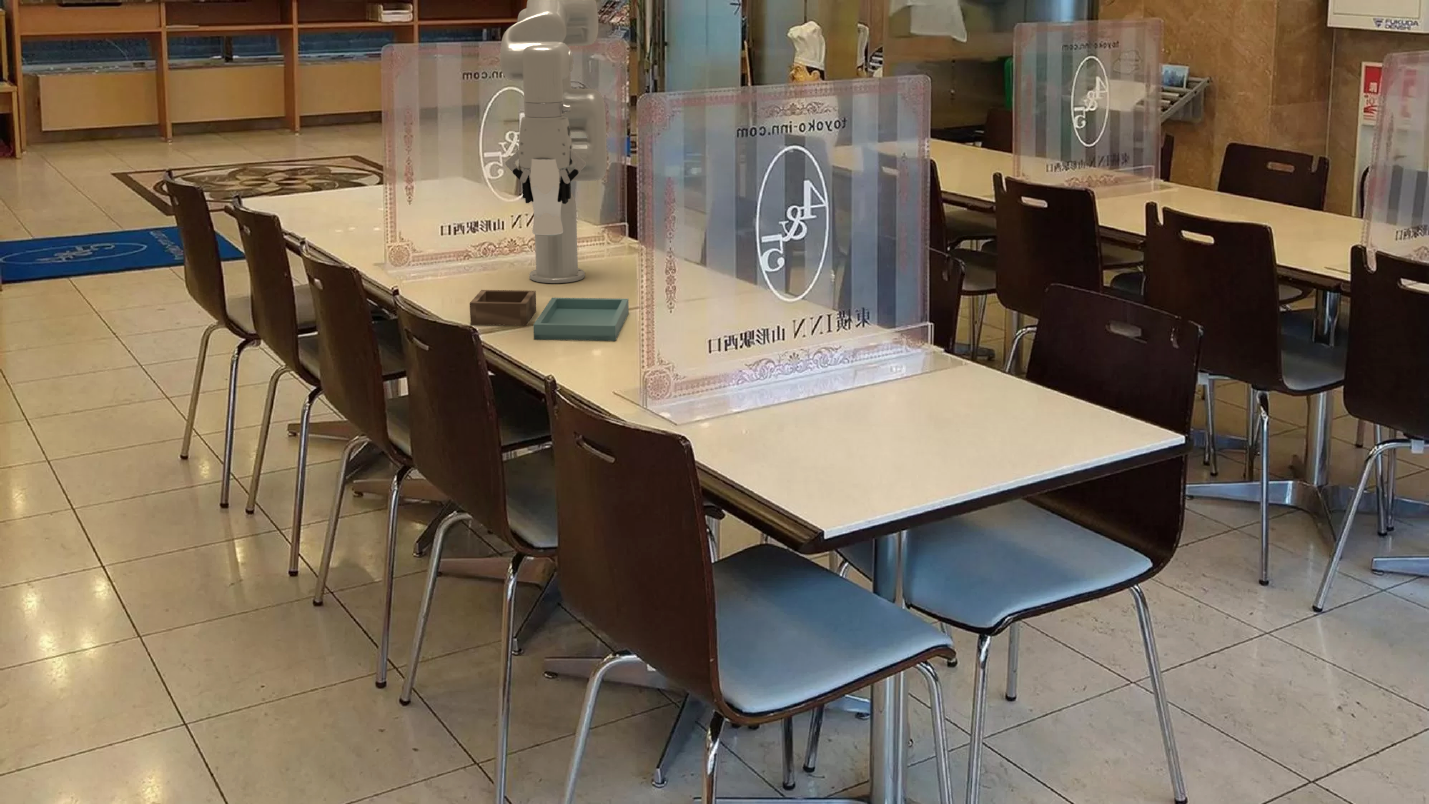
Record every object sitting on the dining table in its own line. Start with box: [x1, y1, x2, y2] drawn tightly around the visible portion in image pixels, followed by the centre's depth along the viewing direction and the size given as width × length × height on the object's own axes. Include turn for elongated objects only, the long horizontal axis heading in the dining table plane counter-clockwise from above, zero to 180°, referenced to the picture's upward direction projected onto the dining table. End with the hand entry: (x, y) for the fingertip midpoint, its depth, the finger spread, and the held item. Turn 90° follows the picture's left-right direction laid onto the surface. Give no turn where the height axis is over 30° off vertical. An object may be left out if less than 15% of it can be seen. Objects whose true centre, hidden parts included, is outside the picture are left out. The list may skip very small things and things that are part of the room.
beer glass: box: [528, 159, 563, 236], centre depth 294 cm, size 7×7×15 cm
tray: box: [532, 297, 630, 342], centre depth 300 cm, size 22×16×3 cm
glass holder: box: [469, 289, 537, 327], centre depth 306 cm, size 11×11×4 cm
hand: (547, 201), depth 295 cm, fingers closed on beer glass, 6 cm apart
